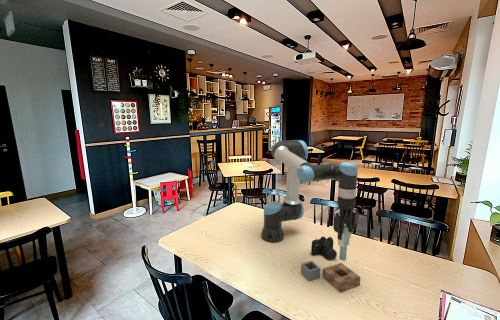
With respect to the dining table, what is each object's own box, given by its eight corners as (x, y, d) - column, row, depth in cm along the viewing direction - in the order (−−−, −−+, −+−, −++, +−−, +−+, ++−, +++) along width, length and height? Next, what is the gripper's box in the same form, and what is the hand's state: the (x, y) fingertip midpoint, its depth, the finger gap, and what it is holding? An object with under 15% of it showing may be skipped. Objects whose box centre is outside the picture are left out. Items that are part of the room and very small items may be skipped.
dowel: (337, 257, 111) (339, 226, 109) (342, 256, 113) (344, 225, 110) (342, 261, 109) (344, 229, 106) (347, 259, 110) (349, 227, 107)
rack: (322, 277, 116) (322, 268, 115) (340, 271, 121) (341, 262, 120) (340, 294, 105) (340, 284, 105) (359, 286, 110) (360, 277, 109)
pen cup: (300, 274, 119) (301, 263, 118) (311, 271, 121) (311, 260, 120) (308, 282, 113) (309, 271, 112) (319, 279, 115) (320, 268, 114)
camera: (319, 264, 127) (320, 247, 126) (309, 253, 138) (309, 237, 136) (340, 259, 131) (342, 243, 130) (329, 249, 141) (330, 234, 140)
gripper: (339, 201, 99) (336, 252, 103) (366, 196, 105) (362, 244, 109) (326, 196, 106) (324, 244, 110) (353, 192, 112) (350, 237, 116)
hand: (343, 244), depth 109 cm, fingers closed on dowel, 3 cm apart
